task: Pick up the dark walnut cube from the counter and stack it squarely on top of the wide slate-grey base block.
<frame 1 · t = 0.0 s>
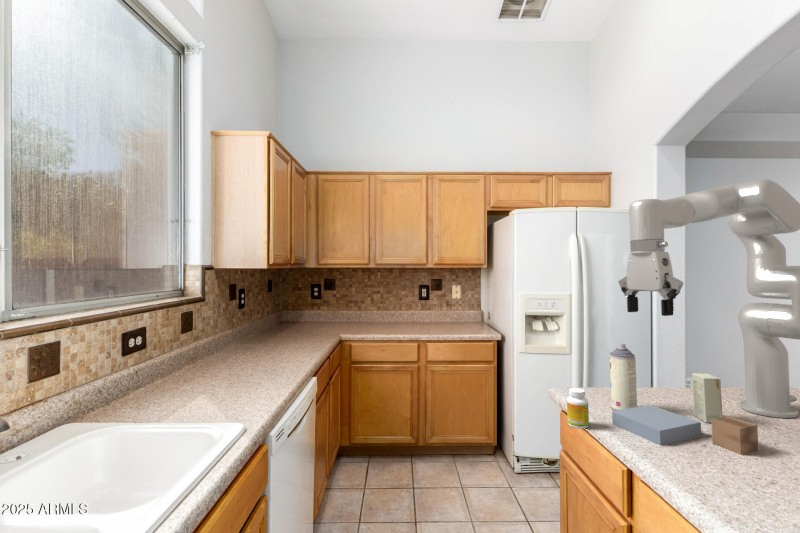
hand: (649, 313, 101), 31 cm above the countertop, tool pointing down, fingers open, 9 cm apart
skincare box: (707, 419, 110), on the countertop
slate base block: (655, 431, 104), on the countertop
walnut cube: (735, 447, 93), on the countertop
aerosol can: (624, 410, 119), on the countertop
supplement bottle: (578, 425, 108), on the countertop
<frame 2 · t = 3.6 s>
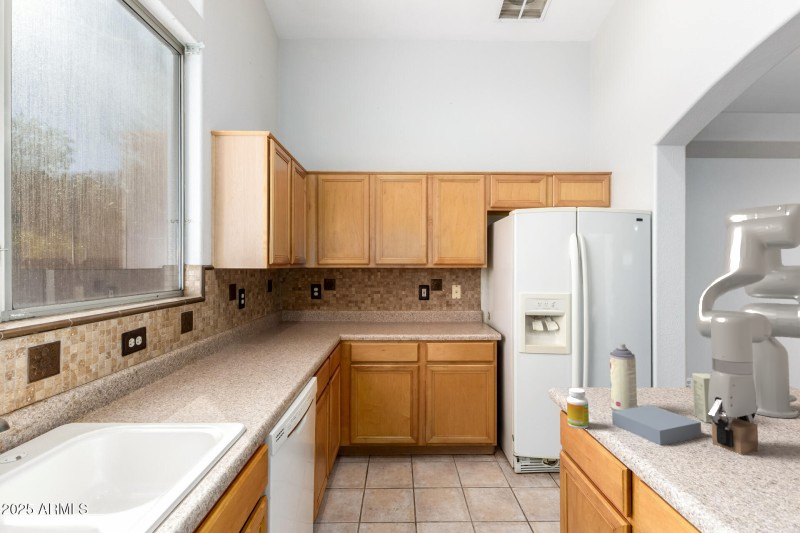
hand: (734, 442, 93), 1 cm above the countertop, tool pointing down, fingers closed on walnut cube, 6 cm apart
walnut cube: (735, 447, 93), on the countertop, touching gripper
everything else where it was.
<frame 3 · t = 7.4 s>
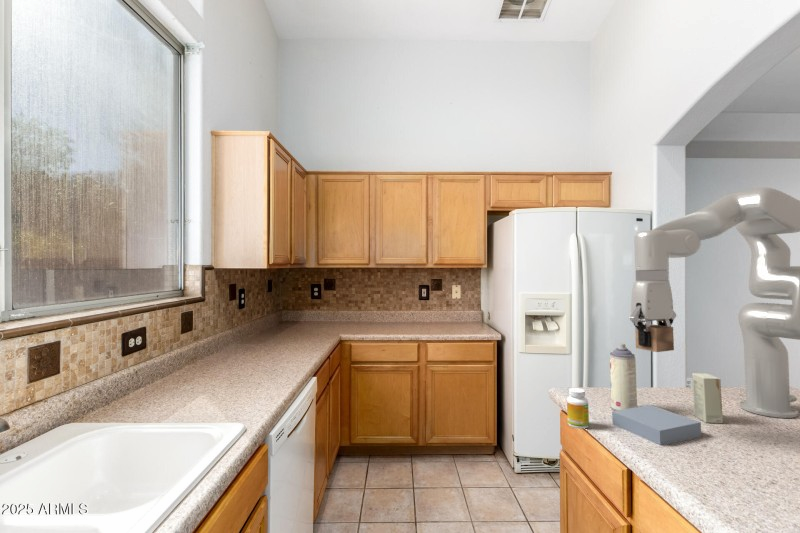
hand: (654, 344, 104), 23 cm above the countertop, tool pointing down, fingers closed on walnut cube, 6 cm apart
walnut cube: (654, 349, 104), point 21 cm above the countertop, touching gripper
everything else where it was.
when the fingers open (5 cm above the countertop, at t = 11.5 s): walnut cube stays where it is, resting on slate base block.
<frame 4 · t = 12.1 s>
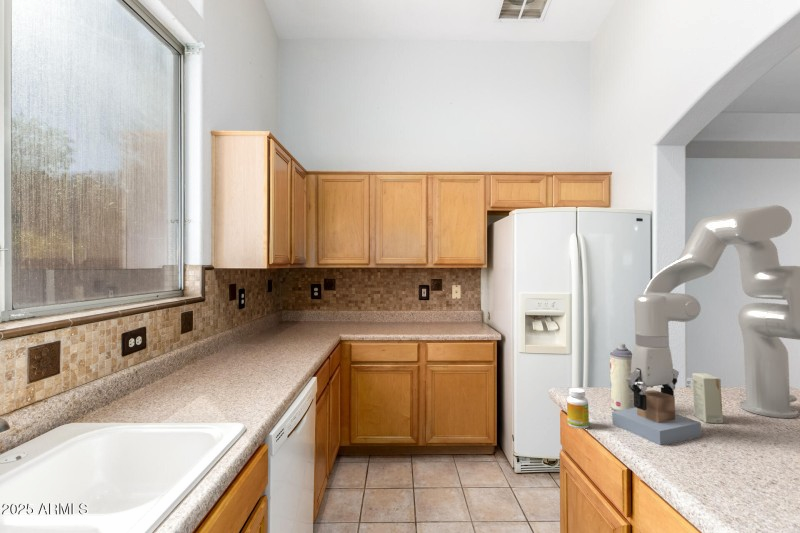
hand: (654, 406, 104), 6 cm above the countertop, tool pointing down, fingers open, 9 cm apart
slate base block: (655, 432, 104), on the countertop, touching walnut cube
walnut cube: (656, 417, 104), point 3 cm above the countertop, touching slate base block
everything else where it was.
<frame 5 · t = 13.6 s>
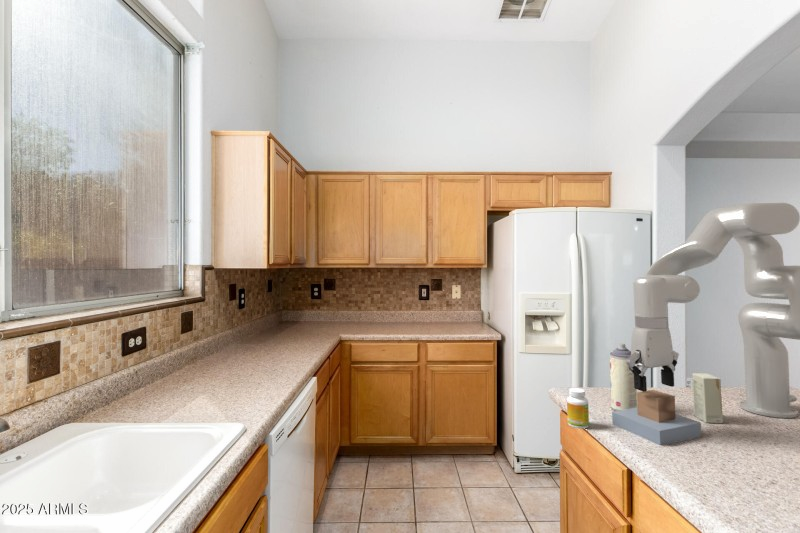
hand: (654, 387, 104), 11 cm above the countertop, tool pointing down, fingers open, 9 cm apart
nothing on the countertop moved.
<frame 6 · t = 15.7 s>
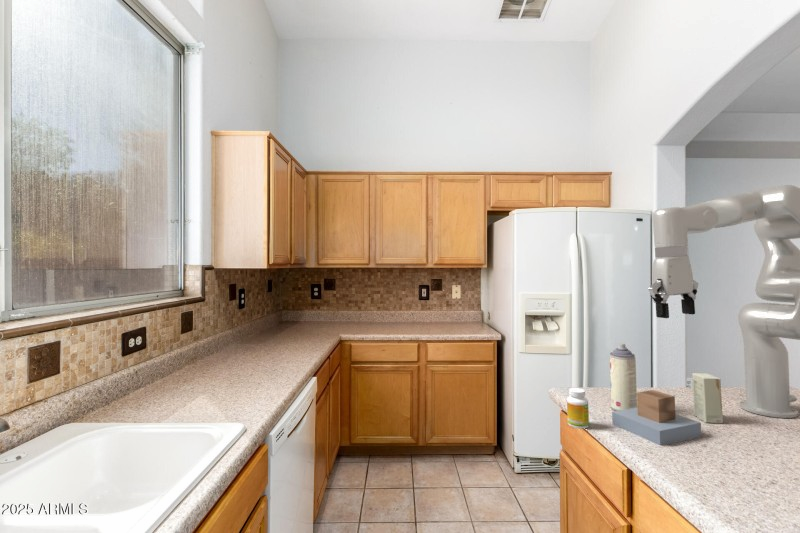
hand: (675, 315, 107), 30 cm above the countertop, tool pointing down, fingers open, 9 cm apart
nothing on the countertop moved.
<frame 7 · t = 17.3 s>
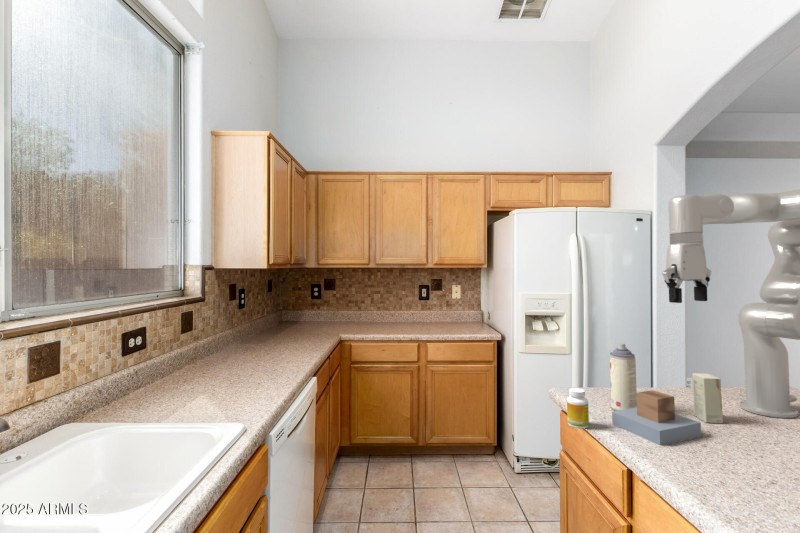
hand: (688, 301, 108), 33 cm above the countertop, tool pointing down, fingers open, 9 cm apart
nothing on the countertop moved.
at the end: walnut cube inside the target area on the slate base block (0.3 cm from its centre), point 4.0 cm above the slate base block's base; walnut cube tilted 0°; the gripper is holding nothing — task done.
